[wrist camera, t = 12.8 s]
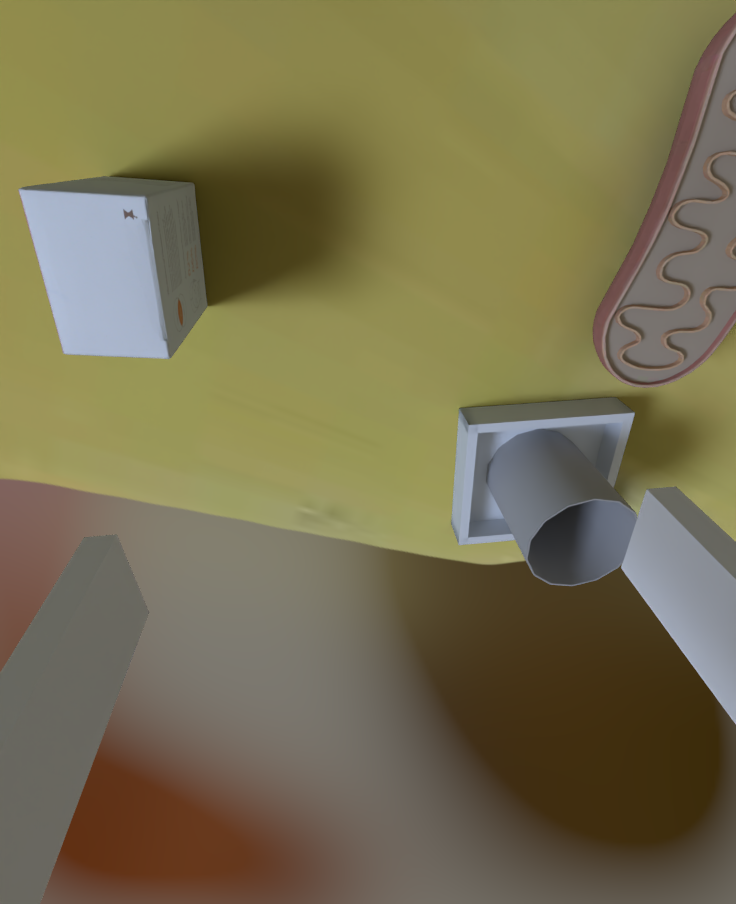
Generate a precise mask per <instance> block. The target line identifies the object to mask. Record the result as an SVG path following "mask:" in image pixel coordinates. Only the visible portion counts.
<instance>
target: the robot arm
mask: <svg viewBox="0 0 736 904" xmlns="http://www.w3.org/2000/svg"><path fill="white" fill-rule="evenodd" d="M621 568H622V570H623V571H624V572H625V574H626V575H627V577H628V578H629V579H630V581H631V582H632V583H633V585H634V586H635V587H636V589H637V590H638V592H639V593H640V594H641V596H642V597H643V598H644V600H645V601H646V602H647V604H648V605H649V607H650V608H651V609H652V611H653V612H654V613H655V615H656V616H657V617H658V619H659V620H660V622H661V623H662V624H663V626H664V627H665V628H666V630H667V631H668V632H669V634H670V635H671V637H672V638H673V639H674V641H675V642H676V643H677V645H678V646H679V647H680V649H681V650H682V652H683V653H684V654H685V656H686V657H687V658H688V659H689V661H690V663H691V664H692V665H693V666H694V668H695V669H696V670H697V672H698V673H699V675H700V676H701V678H702V679H703V680H704V682H705V683H706V684H707V686H708V687H709V688H710V690H711V691H712V692H713V694H714V695H715V697H716V698H717V699H718V701H719V702H720V703H721V705H722V706H723V707H724V709H725V710H726V711H727V713H728V714H729V716H730V717H731V718H732V720H733V721H734V723H735V724H736V542H735V541H734V540H733V539H732V538H731V537H730V536H729V535H728V534H727V533H725V532H724V531H723V530H722V529H721V528H720V527H719V526H718V525H717V524H716V523H715V522H714V521H712V520H711V519H710V518H709V517H708V516H707V515H706V514H705V513H704V512H703V511H702V510H701V509H700V508H698V507H697V506H696V505H695V504H694V503H693V502H692V501H691V500H690V499H689V498H688V497H687V496H685V495H684V494H683V493H682V492H681V491H680V490H679V489H678V488H677V487H665V488H654V489H647V490H646V493H645V496H644V499H643V502H642V505H641V508H640V511H639V515H638V518H637V521H636V524H635V527H634V530H633V533H632V536H631V539H630V542H629V545H628V548H627V552H626V555H625V558H624V561H623V564H622V567H621ZM148 614H149V611H148V609H147V606H146V603H145V601H144V599H143V596H142V594H141V591H140V589H139V586H138V584H137V582H136V579H135V577H134V574H133V572H132V570H131V567H130V565H129V562H128V560H127V557H126V555H125V553H124V550H123V548H122V545H121V543H120V540H119V538H118V536H117V535H106V536H96V537H95V536H94V537H84V539H83V540H82V542H81V543H80V545H79V547H78V548H77V550H76V552H75V553H74V555H73V556H72V558H71V560H70V561H69V563H68V564H67V566H66V568H65V569H64V571H63V573H62V574H61V576H60V577H59V579H58V581H57V582H56V584H55V585H54V587H53V589H52V590H51V592H50V594H49V595H48V597H47V598H46V600H45V601H44V603H43V605H42V606H41V608H40V610H39V611H38V613H37V614H36V616H35V618H34V619H33V621H32V623H31V624H30V626H29V627H28V629H27V631H26V632H25V634H24V635H23V637H22V639H21V640H20V642H19V643H18V645H17V647H16V648H15V650H14V652H13V653H12V655H11V656H10V658H9V660H8V661H7V663H6V665H5V666H4V668H3V669H2V671H1V672H0V904H40V902H41V899H42V897H43V894H44V891H45V889H46V886H47V883H48V881H49V878H50V875H51V873H52V870H53V867H54V864H55V862H56V859H57V857H58V854H59V851H60V848H61V845H62V843H63V841H64V838H65V835H66V833H67V830H68V827H69V825H70V822H71V819H72V817H73V814H74V811H75V808H76V806H77V803H78V801H79V798H80V795H81V793H82V790H83V787H84V785H85V782H86V779H87V777H88V774H89V771H90V769H91V766H92V763H93V761H94V758H95V755H96V753H97V750H98V747H99V745H100V742H101V739H102V737H103V734H104V731H105V729H106V726H107V723H108V721H109V718H110V715H111V713H112V710H113V707H114V705H115V702H116V699H117V697H118V694H119V691H120V689H121V686H122V684H123V681H124V678H125V676H126V673H127V670H128V667H129V665H130V662H131V660H132V657H133V654H134V652H135V649H136V646H137V643H138V641H139V638H140V636H141V633H142V630H143V628H144V625H145V622H146V620H147V617H148Z"/></svg>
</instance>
